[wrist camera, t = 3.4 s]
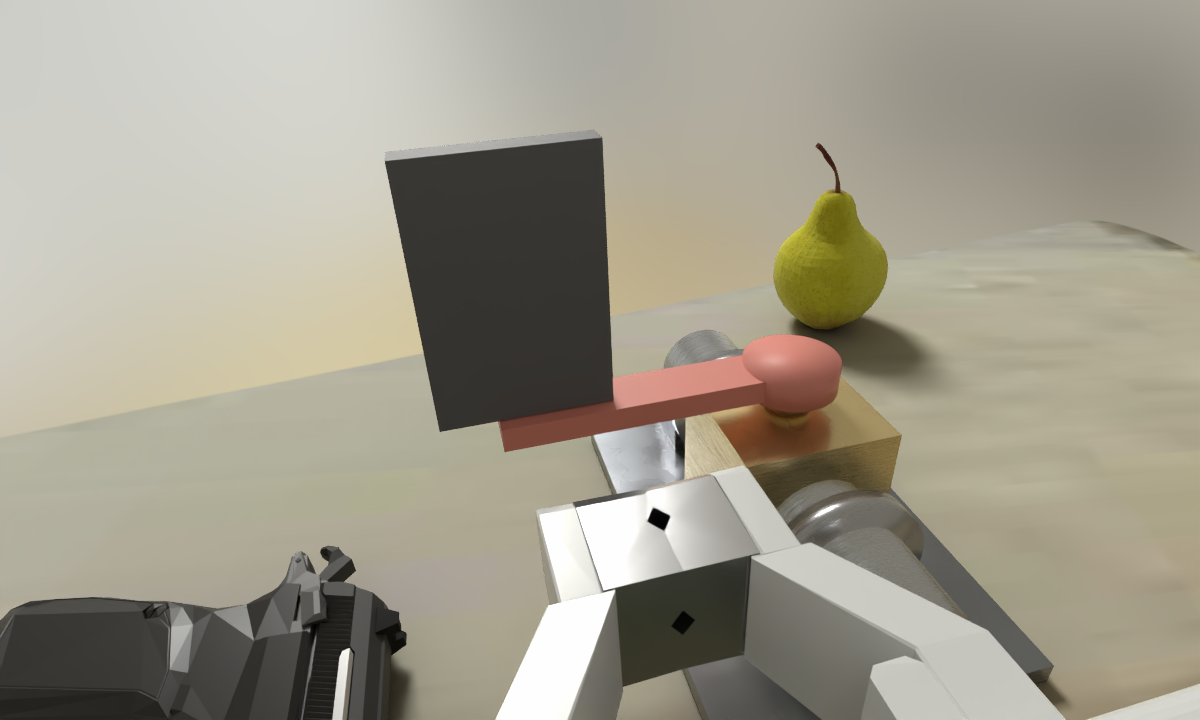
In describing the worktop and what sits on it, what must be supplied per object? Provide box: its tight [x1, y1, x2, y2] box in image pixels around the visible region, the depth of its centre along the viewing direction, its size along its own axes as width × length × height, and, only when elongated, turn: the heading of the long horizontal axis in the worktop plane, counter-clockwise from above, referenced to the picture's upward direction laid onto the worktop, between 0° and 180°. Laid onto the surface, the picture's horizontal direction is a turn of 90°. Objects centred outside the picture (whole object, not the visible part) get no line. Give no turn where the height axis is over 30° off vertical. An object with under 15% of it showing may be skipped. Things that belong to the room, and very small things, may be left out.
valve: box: [591, 330, 1054, 720], centre depth 29 cm, size 12×18×8 cm, turn 14°
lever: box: [385, 130, 842, 452], centre depth 23 cm, size 15×4×10 cm, turn 104°
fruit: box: [773, 143, 888, 330], centre depth 44 cm, size 7×7×12 cm
